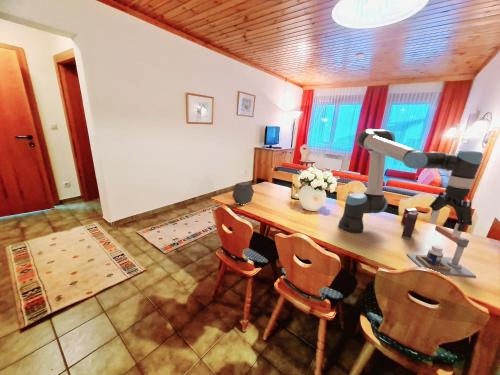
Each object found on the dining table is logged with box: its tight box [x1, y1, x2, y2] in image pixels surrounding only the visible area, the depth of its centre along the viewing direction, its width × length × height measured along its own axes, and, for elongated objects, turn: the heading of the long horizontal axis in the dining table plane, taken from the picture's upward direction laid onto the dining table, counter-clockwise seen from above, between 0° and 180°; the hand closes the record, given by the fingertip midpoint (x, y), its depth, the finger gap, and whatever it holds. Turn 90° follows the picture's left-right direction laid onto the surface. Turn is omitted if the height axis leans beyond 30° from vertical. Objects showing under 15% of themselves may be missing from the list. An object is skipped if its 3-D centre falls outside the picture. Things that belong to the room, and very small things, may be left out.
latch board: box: [406, 245, 477, 278], centre depth 101 cm, size 22×14×12 cm, turn 85°
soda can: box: [400, 207, 419, 227], centre depth 146 cm, size 7×7×12 cm
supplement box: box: [401, 211, 419, 240], centre depth 129 cm, size 9×5×16 cm, turn 137°
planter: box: [231, 181, 255, 206], centre depth 171 cm, size 17×8×21 cm
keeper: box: [434, 224, 470, 248], centre depth 105 cm, size 4×17×3 cm, turn 175°
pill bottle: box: [425, 244, 444, 266], centre depth 101 cm, size 5×5×10 cm
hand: (443, 229), depth 97 cm, fingers open, 13 cm apart
